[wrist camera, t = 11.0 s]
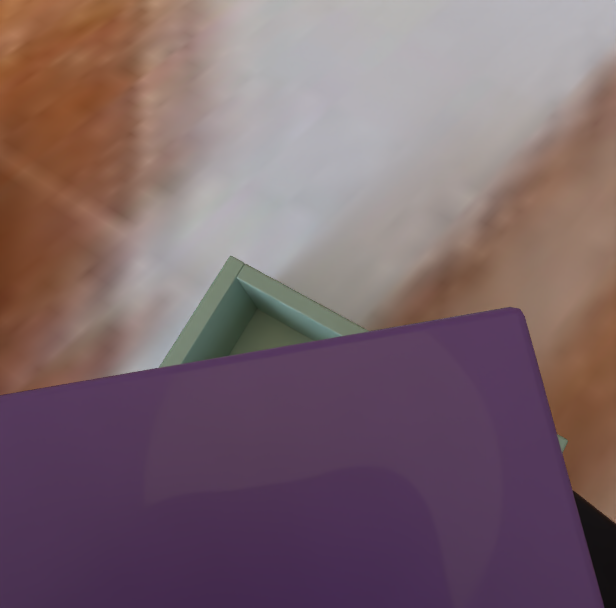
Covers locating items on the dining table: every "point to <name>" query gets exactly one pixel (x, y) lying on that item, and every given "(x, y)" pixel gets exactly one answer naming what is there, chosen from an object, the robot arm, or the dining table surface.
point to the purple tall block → (299, 480)
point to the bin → (255, 319)
